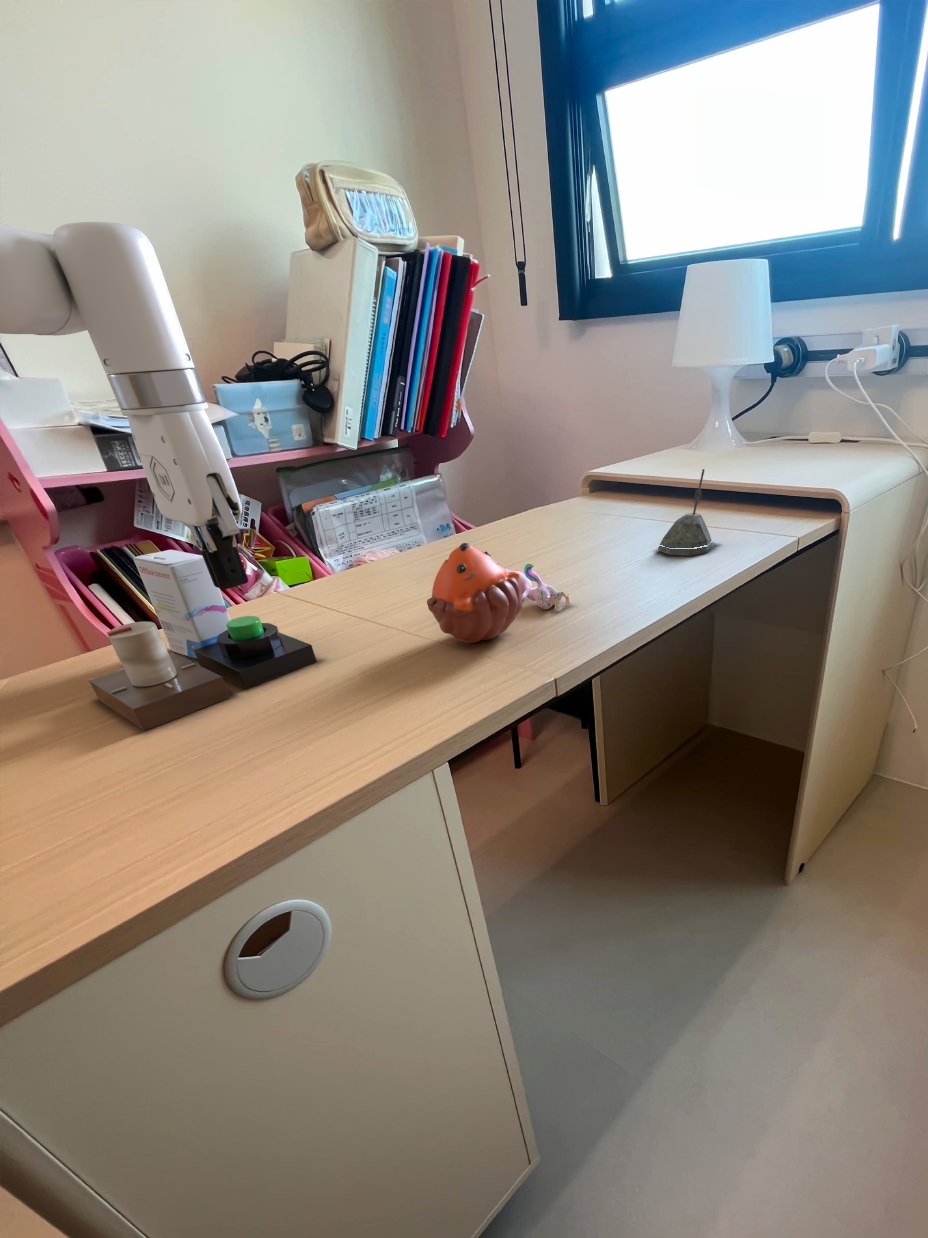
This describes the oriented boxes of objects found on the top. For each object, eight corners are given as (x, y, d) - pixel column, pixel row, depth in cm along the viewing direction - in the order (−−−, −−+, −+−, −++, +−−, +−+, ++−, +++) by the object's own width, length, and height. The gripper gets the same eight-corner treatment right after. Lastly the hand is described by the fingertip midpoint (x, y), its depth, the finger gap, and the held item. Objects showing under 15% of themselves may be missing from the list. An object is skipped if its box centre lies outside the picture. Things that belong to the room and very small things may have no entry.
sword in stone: (687, 559, 107) (691, 480, 100) (651, 551, 112) (652, 475, 105) (724, 546, 113) (729, 470, 106) (688, 539, 117) (691, 466, 110)
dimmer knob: (166, 666, 73) (143, 615, 69) (184, 675, 70) (161, 623, 67) (124, 680, 70) (98, 628, 66) (142, 690, 68) (116, 637, 64)
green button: (225, 637, 76) (220, 622, 75) (254, 627, 78) (249, 613, 77) (241, 643, 74) (235, 628, 73) (270, 633, 76) (265, 619, 75)
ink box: (245, 649, 82) (209, 553, 76) (208, 663, 79) (167, 565, 72) (207, 638, 86) (169, 546, 80) (170, 651, 83) (128, 556, 76)
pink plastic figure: (575, 611, 93) (498, 579, 99) (579, 571, 89) (498, 539, 95) (548, 625, 89) (468, 590, 95) (550, 583, 85) (467, 550, 91)
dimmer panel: (99, 700, 72) (87, 678, 70) (181, 671, 77) (172, 650, 76) (144, 731, 66) (132, 707, 64) (230, 697, 71) (221, 675, 70)
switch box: (200, 666, 78) (187, 635, 76) (269, 642, 84) (259, 612, 82) (245, 689, 73) (232, 656, 70) (317, 661, 78) (307, 629, 76)
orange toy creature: (477, 616, 89) (464, 529, 82) (541, 627, 85) (533, 535, 78) (419, 648, 81) (399, 553, 74) (487, 661, 76) (472, 562, 70)
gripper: (88, 398, 64) (169, 584, 75) (152, 398, 56) (232, 606, 67) (167, 390, 69) (232, 567, 79) (235, 390, 61) (298, 586, 71)
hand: (232, 584), depth 73 cm, fingers closed
